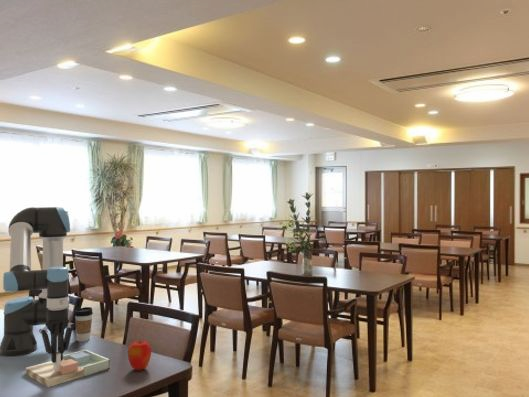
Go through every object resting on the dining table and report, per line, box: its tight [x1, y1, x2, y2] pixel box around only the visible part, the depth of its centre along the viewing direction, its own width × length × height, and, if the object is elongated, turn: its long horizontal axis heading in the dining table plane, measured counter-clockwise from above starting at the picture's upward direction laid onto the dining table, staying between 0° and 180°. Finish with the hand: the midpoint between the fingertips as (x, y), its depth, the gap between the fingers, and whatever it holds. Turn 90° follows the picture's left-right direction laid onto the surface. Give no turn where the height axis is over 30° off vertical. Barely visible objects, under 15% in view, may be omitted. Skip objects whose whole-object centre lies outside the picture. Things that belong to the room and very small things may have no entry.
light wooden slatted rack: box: [25, 360, 85, 388], centre depth 178 cm, size 19×14×2 cm
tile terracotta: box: [57, 359, 78, 374], centre depth 177 cm, size 6×6×3 cm
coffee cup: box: [74, 306, 94, 342], centre depth 224 cm, size 8×8×15 cm
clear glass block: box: [69, 352, 90, 365], centre depth 191 cm, size 6×6×3 cm
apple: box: [127, 340, 152, 371], centre depth 185 cm, size 9×9×12 cm
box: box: [63, 349, 111, 377], centre depth 188 cm, size 19×11×4 cm, turn 50°
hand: (57, 370), depth 174 cm, fingers closed
